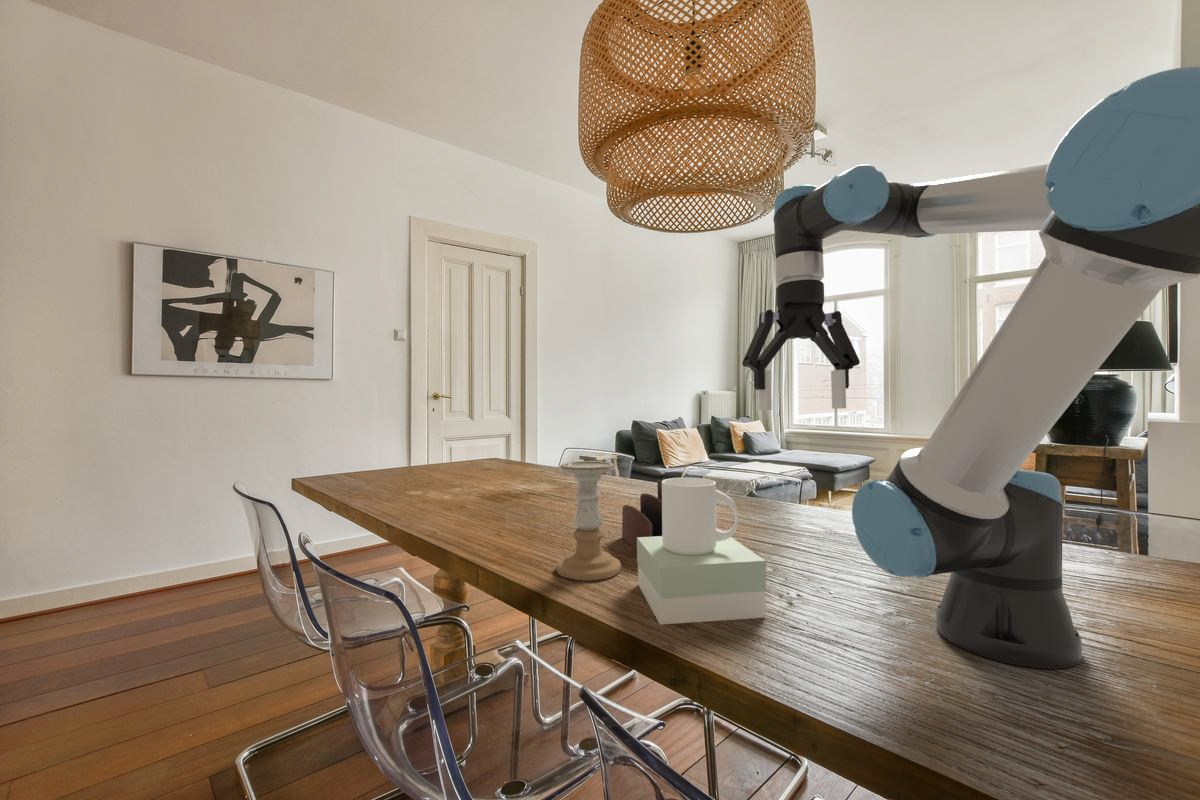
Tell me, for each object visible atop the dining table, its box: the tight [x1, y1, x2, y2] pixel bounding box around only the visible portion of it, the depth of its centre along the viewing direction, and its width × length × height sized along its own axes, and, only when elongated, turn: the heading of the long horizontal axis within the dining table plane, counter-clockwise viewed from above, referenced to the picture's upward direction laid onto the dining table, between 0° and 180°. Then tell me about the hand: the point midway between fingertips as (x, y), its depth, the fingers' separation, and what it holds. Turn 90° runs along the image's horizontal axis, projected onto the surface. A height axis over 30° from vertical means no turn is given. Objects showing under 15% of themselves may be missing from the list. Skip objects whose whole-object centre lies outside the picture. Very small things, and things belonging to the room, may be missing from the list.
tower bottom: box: [637, 564, 767, 625], centre depth 84 cm, size 16×16×4 cm
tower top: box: [636, 536, 767, 598], centre depth 84 cm, size 16×16×4 cm
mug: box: [662, 477, 739, 555], centre depth 83 cm, size 9×12×11 cm
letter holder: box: [621, 479, 664, 551], centre depth 113 cm, size 10×20×14 cm, turn 14°
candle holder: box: [555, 460, 622, 582], centre depth 99 cm, size 12×12×20 cm
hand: (802, 409), depth 87 cm, fingers open, 13 cm apart
